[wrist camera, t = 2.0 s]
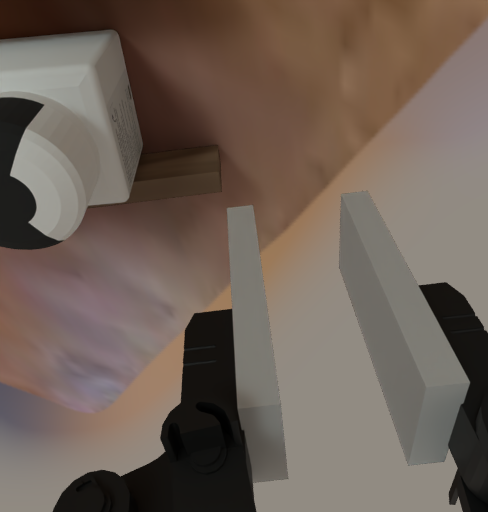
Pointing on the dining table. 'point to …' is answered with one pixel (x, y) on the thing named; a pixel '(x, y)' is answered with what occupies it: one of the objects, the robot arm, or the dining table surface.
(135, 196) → the rack
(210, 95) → the dining table surface
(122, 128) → the container
